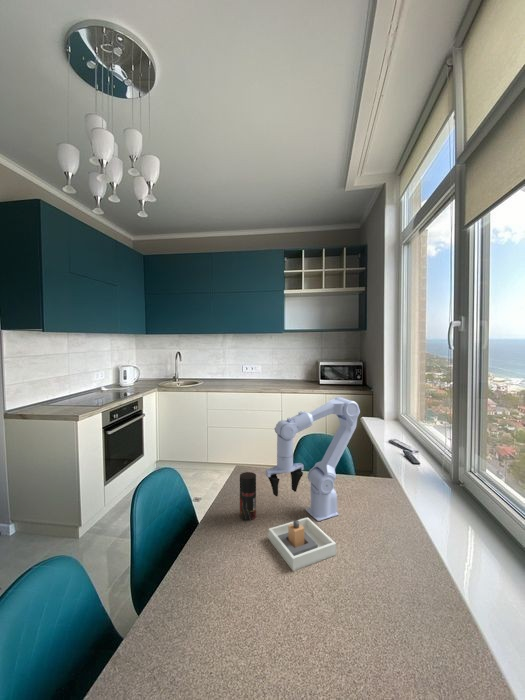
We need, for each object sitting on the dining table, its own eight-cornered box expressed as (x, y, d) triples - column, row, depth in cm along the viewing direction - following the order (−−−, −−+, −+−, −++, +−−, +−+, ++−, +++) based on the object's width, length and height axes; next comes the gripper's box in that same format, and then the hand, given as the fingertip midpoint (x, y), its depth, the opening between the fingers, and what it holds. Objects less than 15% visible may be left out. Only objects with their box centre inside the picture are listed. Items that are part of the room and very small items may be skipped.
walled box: (307, 527, 103) (307, 517, 103) (336, 554, 90) (336, 543, 90) (268, 539, 97) (268, 528, 97) (292, 571, 83) (293, 558, 83)
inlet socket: (301, 534, 99) (301, 528, 98) (317, 551, 90) (317, 544, 90) (277, 542, 95) (277, 535, 95) (292, 560, 87) (292, 553, 86)
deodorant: (253, 521, 106) (253, 479, 106) (237, 519, 108) (237, 478, 107) (257, 512, 112) (257, 472, 112) (242, 510, 113) (242, 471, 113)
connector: (297, 540, 95) (297, 517, 95) (304, 547, 92) (304, 523, 92) (288, 544, 94) (288, 520, 93) (295, 551, 90) (295, 526, 90)
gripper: (296, 448, 114) (296, 483, 114) (261, 454, 107) (261, 491, 108) (306, 454, 107) (306, 492, 108) (270, 461, 101) (270, 501, 101)
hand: (284, 492), depth 107 cm, fingers open, 7 cm apart
